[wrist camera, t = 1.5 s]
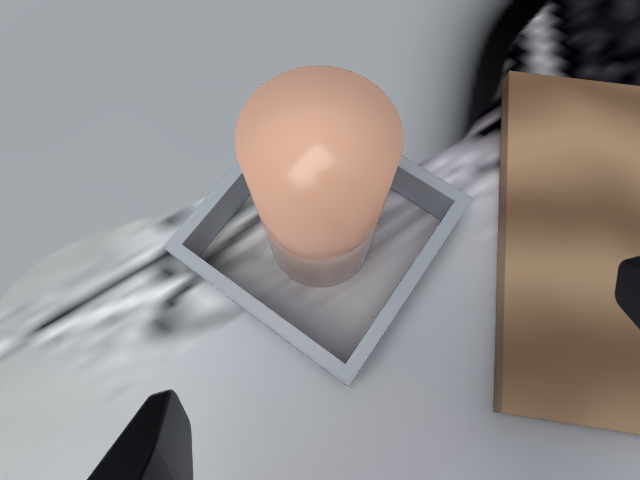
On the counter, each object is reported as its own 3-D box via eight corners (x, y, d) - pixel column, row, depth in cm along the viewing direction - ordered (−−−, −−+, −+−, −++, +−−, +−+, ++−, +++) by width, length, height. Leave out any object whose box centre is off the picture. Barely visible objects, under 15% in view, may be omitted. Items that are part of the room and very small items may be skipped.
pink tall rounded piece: (363, 294, 22) (394, 225, 12) (263, 279, 22) (218, 200, 12) (374, 201, 23) (410, 75, 14) (281, 188, 23) (252, 57, 14)
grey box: (457, 217, 23) (472, 198, 20) (346, 384, 20) (349, 385, 18) (299, 119, 25) (297, 91, 22) (179, 261, 22) (163, 247, 20)
